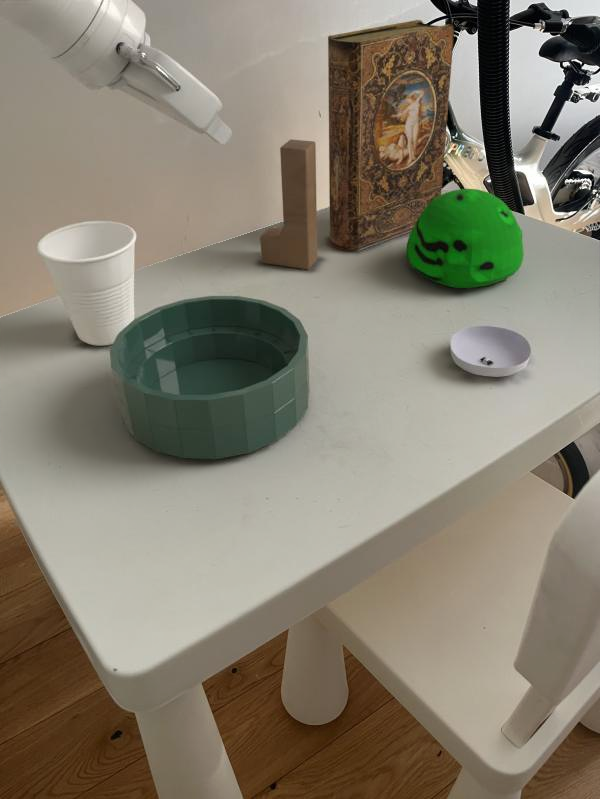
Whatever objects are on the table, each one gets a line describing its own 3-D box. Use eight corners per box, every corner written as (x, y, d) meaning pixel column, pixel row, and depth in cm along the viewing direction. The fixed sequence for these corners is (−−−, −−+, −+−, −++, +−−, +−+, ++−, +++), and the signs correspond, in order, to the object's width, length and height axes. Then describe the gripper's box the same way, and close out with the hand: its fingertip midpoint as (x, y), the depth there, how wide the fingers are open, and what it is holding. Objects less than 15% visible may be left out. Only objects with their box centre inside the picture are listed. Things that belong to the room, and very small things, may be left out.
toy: (386, 262, 93) (390, 185, 87) (468, 238, 98) (476, 164, 92) (455, 306, 83) (464, 222, 78) (542, 277, 89) (556, 196, 83)
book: (350, 254, 95) (352, 43, 81) (323, 241, 99) (320, 37, 84) (438, 221, 103) (455, 23, 88) (411, 210, 107) (422, 18, 92)
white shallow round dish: (489, 394, 70) (492, 378, 68) (431, 358, 75) (432, 342, 74) (546, 366, 73) (549, 350, 72) (486, 333, 78) (488, 317, 77)
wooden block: (318, 259, 94) (316, 141, 86) (309, 270, 92) (306, 149, 83) (271, 252, 96) (264, 136, 88) (261, 263, 94) (253, 144, 85)
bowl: (97, 391, 72) (82, 329, 68) (252, 338, 79) (247, 279, 75) (170, 493, 60) (157, 426, 56) (345, 419, 67) (345, 355, 63)
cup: (109, 302, 87) (90, 213, 80) (170, 325, 82) (156, 232, 75) (41, 339, 80) (15, 246, 74) (103, 367, 75) (81, 269, 69)
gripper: (164, 24, 61) (271, 124, 71) (84, -4, 76) (182, 83, 85) (122, 88, 62) (233, 179, 72) (51, 49, 76) (152, 129, 86)
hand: (205, 127), depth 79 cm, fingers open, 8 cm apart
